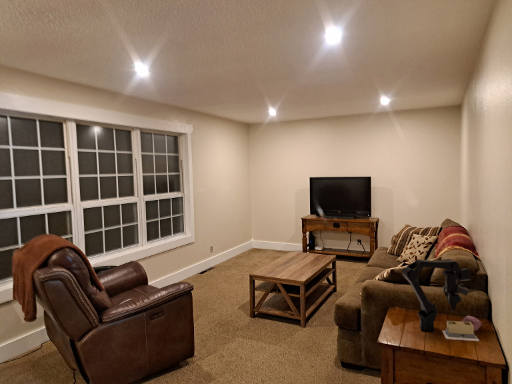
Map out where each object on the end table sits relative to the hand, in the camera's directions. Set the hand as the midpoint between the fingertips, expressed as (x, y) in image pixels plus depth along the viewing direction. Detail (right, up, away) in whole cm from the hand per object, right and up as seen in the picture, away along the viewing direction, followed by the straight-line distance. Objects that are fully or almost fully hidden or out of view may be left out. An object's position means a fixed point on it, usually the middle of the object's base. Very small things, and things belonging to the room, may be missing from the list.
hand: (451, 307), depth 202 cm
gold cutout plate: (-1, -10, -10) cm, 14 cm away
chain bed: (-1, -13, -9) cm, 16 cm away
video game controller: (+11, -12, 0) cm, 16 cm away
